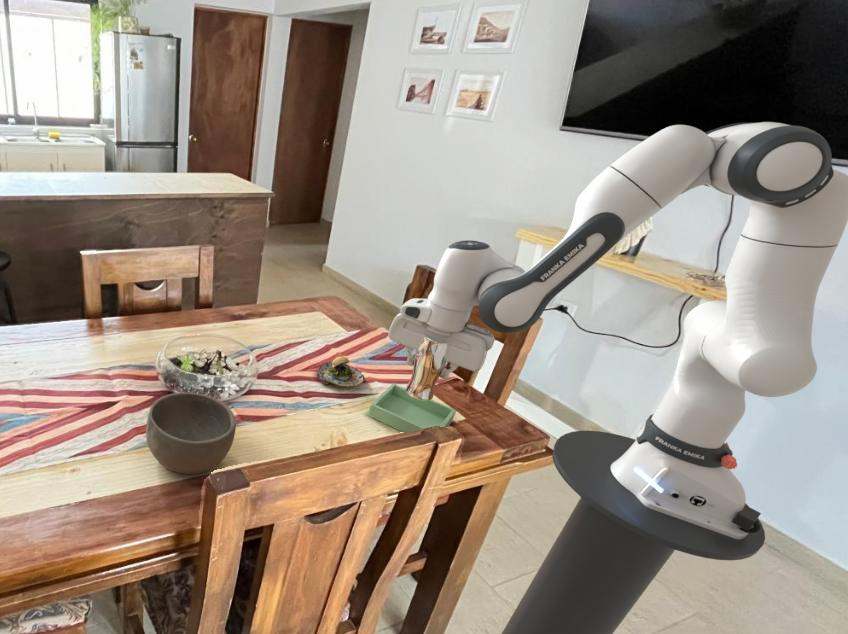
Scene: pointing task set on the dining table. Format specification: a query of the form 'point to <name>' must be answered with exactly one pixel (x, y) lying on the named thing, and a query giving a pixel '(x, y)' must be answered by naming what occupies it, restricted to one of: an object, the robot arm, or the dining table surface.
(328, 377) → the burger
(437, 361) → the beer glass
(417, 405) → the serving tray
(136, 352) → the dining table surface
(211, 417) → the bowl
